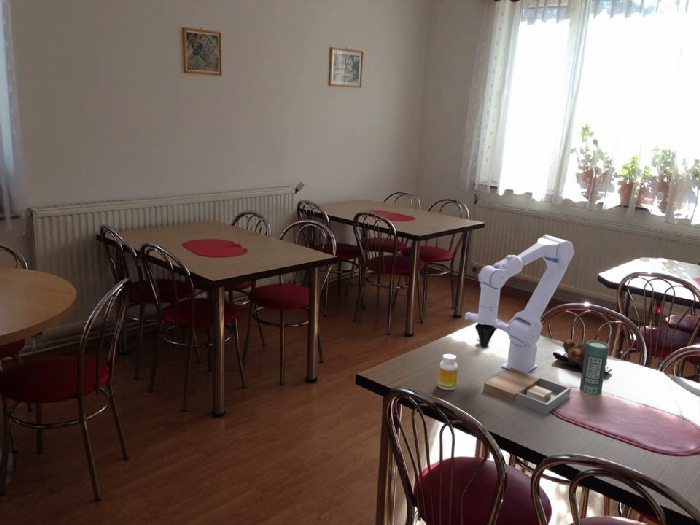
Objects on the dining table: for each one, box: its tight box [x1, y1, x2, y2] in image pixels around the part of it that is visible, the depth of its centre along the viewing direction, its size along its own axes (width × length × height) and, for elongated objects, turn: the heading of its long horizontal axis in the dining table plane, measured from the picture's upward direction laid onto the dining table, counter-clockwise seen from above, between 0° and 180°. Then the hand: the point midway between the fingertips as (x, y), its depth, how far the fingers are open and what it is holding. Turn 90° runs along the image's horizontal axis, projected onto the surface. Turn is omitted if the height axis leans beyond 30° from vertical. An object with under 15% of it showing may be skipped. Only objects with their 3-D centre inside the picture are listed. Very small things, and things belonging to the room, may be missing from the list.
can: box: [579, 339, 610, 396], centre depth 186 cm, size 6×6×15 cm
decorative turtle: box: [562, 339, 608, 370], centre depth 204 cm, size 10×15×8 cm, turn 46°
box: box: [514, 376, 572, 415], centre depth 180 cm, size 15×10×3 cm, turn 137°
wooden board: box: [483, 368, 540, 403], centre depth 187 cm, size 16×10×2 cm, turn 137°
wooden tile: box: [527, 386, 552, 402], centre depth 181 cm, size 5×5×2 cm
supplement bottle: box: [437, 353, 459, 391], centre depth 185 cm, size 5×5×10 cm
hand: (484, 346), depth 193 cm, fingers closed
